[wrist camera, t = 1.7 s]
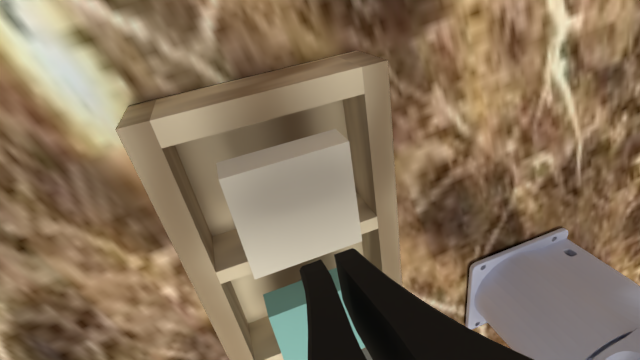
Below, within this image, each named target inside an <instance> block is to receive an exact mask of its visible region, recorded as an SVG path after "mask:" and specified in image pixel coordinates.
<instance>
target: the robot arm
mask: <svg viewBox="0 0 640 360" xmlns="http://www.w3.org/2000/svg"><path fill="white" fill-rule="evenodd" d="M567 236H568V230H566V229H565V228H560V229H558V230H555V231H553V232H550V233H548V234H545V235H543V236H540V237H538V238H535V239H533V240H530V241H527V242H525V243H522V244H520V245H517V246H515V247H512V248H510V249H507V250H505V251H502V252H500V253H497V254H495V255H492V256H490V257H487V258H485V259H482V260H480V261H477V262H475V263H473V264H472V265H471V266H470V271H469V284H468V298H467V312H466V327H465V326H464V325H462V324H460V323H458V322H456V321H455V320H453V319H451V318H449V317H448V316H446V315H444V314H443V313H441V312H439V311H438V310H436V309H435V308H433V307H432V306H430V305H428V304H427V303H425V302H424V301H422V300H421V299H419V298H418V297H416V296H415V295H413V294H412V293H410V292H409V291H408V290H406V289H405V288H403V287H402V286H401V285H399V284H398V283H396V282H395V281H394V280H392V279H391V278H390V277H388V276H387V275H386V274H384V273H383V272H382V271H381V270H379V269H378V268H377V267H376V266H374V265H373V264H372V263H371V262H370V261H368V260H367V259H366V258H365V257H364V256H363V255H361V254H360V253H359V252H358V251H357V250H356V249H354V248H351V249H348V250H345V251H343V252H340V253H337V254H334V257H335V262H336V268H337V273H338V278H339V283H340V288H341V294H342V299H343V302H344V304H345V307H346V309H347V311H348V314H349V316H350V318H351V320H352V323H353V325H354V327H355V329H356V331H357V333H358V335H359V337H360V338H361V340H362V342H363V344H364V345H365V347H366V349H367V351H368V353H369V354H370V356H371V358H372V359H373V360H640V286H639V285H637V284H636V283H635V282H633V281H632V280H630V279H629V278H627V277H626V276H624V275H622V274H621V273H619V272H618V271H616V270H615V269H613V268H612V267H610V266H609V265H607V264H605V263H604V262H602V261H601V260H599V259H598V258H596V257H595V256H593V255H591V254H590V253H588V252H587V251H585V250H584V249H582V248H581V247H579V246H578V245H576V244H574V243H573V242H571V241H570V240H568V239H567ZM299 271H300V275H301V279H302V283H303V286H304V290H305V296H306V304H307V321H308V360H367V359H366V357H365V355H364V353H363V351H362V350H361V348H360V346H359V343H358V341H357V339H356V337H355V335H354V332H353V330H352V327H351V325H350V322H349V320H348V317H347V314H346V312H345V309H344V307H343V304H342V302H341V299H340V296H339V294H338V291H337V289H336V286H335V284H334V281H333V279H332V276H331V274H330V273H329V271H328V269H327V268H326V266H325V265H324V263H323V261H322V260H321V259H320V260H318V261H315V262H312V263H309V264H306V265H304V266H302V267H301V268H300V270H299ZM485 323H488V324H489V325H490V326H491V327H492V328H493V329H494V330H495V331H496V332H497V333H498V335H499V336H500V337H501V338H502V339H503V340H504V341H505V342H506V343H507V344H508V346H509V347H510V348H511V349H510V348H507V347H505V346H503V345H501V344H499V343H496V342H494V341H492V340H490V339H488V338H486V337H484V336H483V335H481V334H479V333H477V332H475V331H473V330H471V329H474V328H476V327H479V326H481V325H483V324H485Z"/></svg>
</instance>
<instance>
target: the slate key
mask: <svg viewBox="0 0 640 360" xmlns="http://www.w3.org/2000/svg"><path fill="white" fill-rule="evenodd" d="M362 351H363V353H364V355H365V357H366V359H367V360H373V359H372V358H371V356H370V354H369V353H368V351H367V349H364V350H362Z"/></svg>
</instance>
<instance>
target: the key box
mask: <svg viewBox="0 0 640 360" xmlns="http://www.w3.org/2000/svg"><path fill="white" fill-rule="evenodd" d="M333 129H336V130H337V131H338V132H339V133H340V134H342V135H343V136H344V137H345V138H346V139H347V140H348V141H349V145H350V153H351V160H352V168H353V175H354V183H355V190H356V198H357V205H358V213H359V220H360V228H361V235H362V241H361V242H359V243H356V244H353V245H350V246H347V247H345V248H342V249H339V250H336V251H334V252H331V253H328V254H325V255H322V256H320V257H317V258H314V259H311V260H308V261H306V262H303V263H300V264H297V265H294V266H292V267H289V268H286V269H283V270H280V271H278V272H275V273H272V274H269V275H266V276H264V277H261V278H258V279H254V276H253V273H252V271H251V268H250V265H249V262H248V259H247V257H246V254H245V251H244V248H243V246H242V243H241V240H240V237H239V235H238V232H237V229H236V226H235V224H234V221H233V218H232V215H231V213H230V210H229V207H228V204H227V202H226V199H225V196H224V193H223V191H222V188H221V185H220V182H219V179H218V173H217V166H216V163H217V162H221V161H224V160H228V159H231V158H235V157H238V156H242V155H245V154H249V153H252V152H256V151H259V150H263V149H266V148H270V147H273V146H277V145H280V144H284V143H287V142H291V141H294V140H298V139H301V138H305V137H308V136H312V135H315V134H319V133H322V132H326V131H329V130H333ZM115 130H116V132H117V134H118V136H119V138H120V140H121V142H122V144H123V146H124V148H125V150H126V152H127V154H128V156H129V158H130V160H131V162H132V164H133V166H134V168H135V170H136V172H137V174H138V176H139V178H140V180H141V182H142V184H143V186H144V188H145V190H146V192H147V194H148V196H149V198H150V200H151V202H152V204H153V206H154V208H155V210H156V212H157V214H158V216H159V218H160V220H161V222H162V224H163V226H164V228H165V231H166V233H167V235H168V237H169V239H170V241H171V243H172V245H173V247H174V249H175V251H176V253H177V255H178V257H179V259H180V261H181V263H182V265H183V267H184V269H185V271H186V273H187V275H188V277H189V279H190V281H191V283H192V285H193V287H194V289H195V291H196V293H197V295H198V297H199V299H200V301H201V303H202V305H203V307H204V309H205V311H206V313H207V315H208V317H209V319H210V321H211V323H212V325H213V327H214V330H215V332H216V334H217V336H218V338H219V340H220V342H221V344H222V346H223V348H224V350H225V352H226V354H227V356H228V358H229V360H284V359H283V356H282V353H281V350H280V348H279V345H278V342H277V339H276V337H275V334H274V331H273V328H272V326H271V323H270V320H269V317H268V313H267V309H266V305H265V301H264V297H263V294H266V293H269V292H271V291H274V290H277V289H279V288H282V287H285V286H288V285H290V284H293V283H296V282H297V281H298V280H300V279H301V275H300V271H299V270H300V268H301V267H302V266H304V265H306V264H309V263H312V262H315V261H318V260H320V259H321V260H322V261H323V263H324V265H325V266H326V268H327V269H328V270H331V269H334V268H336V262H335V257H334V254H337V253H340V252H343V251H345V250H348V249H351V248H354V249H356V250H357V251H358V252H359V253H360V254H361V255H363V256H364V257H365V258H366V259H367V260H368V261H370V262H371V263H372V264H373V265H374V266H376V267H377V268H378V269H379V270H381V271H382V272H383V273H384V274H386V275H387V276H388V277H390V278H391V279H392V280H394V281H395V282H396V283H398V284H399V285H401V286H402V275H401V260H400V244H399V228H398V212H397V196H396V180H395V164H394V149H393V133H392V117H391V101H390V85H389V69H388V60H385V59H382V58H379V57H376V56H373V55H370V54H367V53H364V52H361V51H358V50H357V51H353V52H349V53H345V54H341V55H337V56H333V57H329V58H324V59H320V60H316V61H312V62H308V63H304V64H300V65H296V66H291V67H287V68H283V69H279V70H275V71H271V72H267V73H263V74H258V75H254V76H250V77H246V78H242V79H238V80H234V81H230V82H225V83H221V84H217V85H213V86H209V87H205V88H201V89H197V90H193V91H188V92H184V93H180V94H176V95H172V96H168V97H164V98H160V99H155V100H151V101H147V102H143V103H139V104H135V105H131V106H128V108H127V110H126V111H125V113H124V115H123V117H122V119H121V120H120V122H119V124H118V126H117V127H116V129H115ZM364 349H366V347H365V348H363V349H361V350H364Z"/></svg>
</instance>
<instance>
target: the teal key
mask: <svg viewBox="0 0 640 360" xmlns="http://www.w3.org/2000/svg"><path fill="white" fill-rule="evenodd" d="M328 271H329V273H330V274H331V276H332V279H333V281H334V284H335V286H336V289H337V291H338V294H339V296H340V299H341V302H342V304H343V307H344V309H345V312H346V314H347V317H348V320H349V322H350V325H351V327H352V330H353V332H354V335H355V337H356V339H357V341H358V343H359V346H360V348H361V349H363V348H365V345H364V344H363V342H362V340H361V338H360V337H359V335H358V333H357V331H356V329H355V327H354V325H353V323H352V320H351V318H350V316H349V314H348V311H347V309H346V307H345V304H344V302H343V299H342V294H341V288H340V283H339V278H338V273H337V268H334V269H331V270H328ZM263 297H264V301H265V305H266V309H267V313H268V317H269V320H270V323H271V326H272V328H273V331H274V334H275V337H276V339H277V342H278V345H279V348H280V350H281V353H282V356H283V359H284V360H308V321H307V304H306V296H305V290H304V286H303V283H302V279H300V280H298V281H297V282H296V283H293V284H290V285H288V286H285V287H282V288H279V289H277V290H274V291H271V292H269V293H266V294H263Z"/></svg>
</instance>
